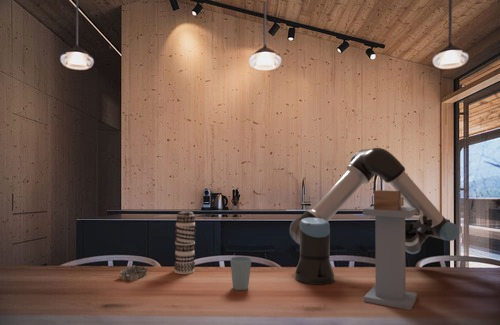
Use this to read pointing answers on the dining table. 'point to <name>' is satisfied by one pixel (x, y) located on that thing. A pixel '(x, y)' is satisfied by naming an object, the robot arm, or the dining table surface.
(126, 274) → the brown lumpy stone
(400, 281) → the stand
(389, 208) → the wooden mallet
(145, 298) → the dining table surface
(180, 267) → the decorative candle
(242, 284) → the cup
